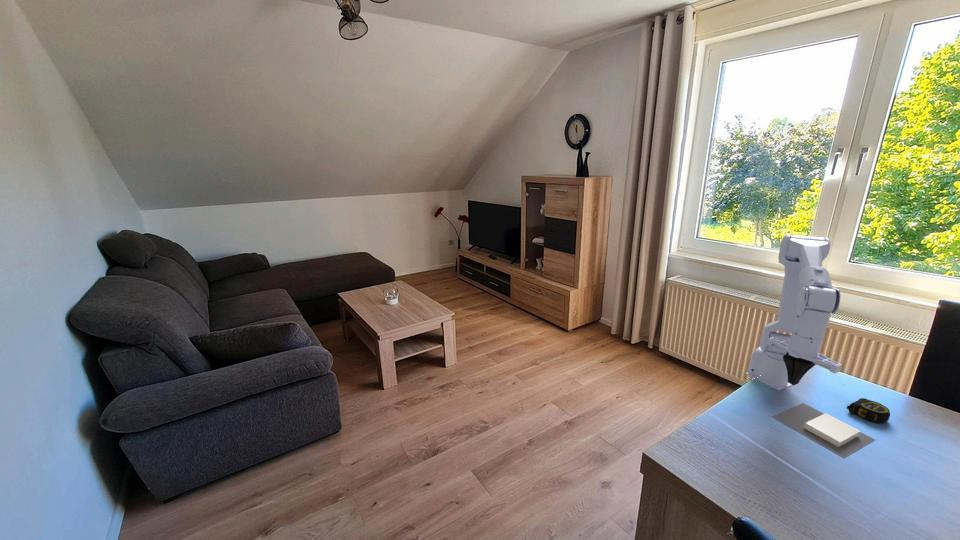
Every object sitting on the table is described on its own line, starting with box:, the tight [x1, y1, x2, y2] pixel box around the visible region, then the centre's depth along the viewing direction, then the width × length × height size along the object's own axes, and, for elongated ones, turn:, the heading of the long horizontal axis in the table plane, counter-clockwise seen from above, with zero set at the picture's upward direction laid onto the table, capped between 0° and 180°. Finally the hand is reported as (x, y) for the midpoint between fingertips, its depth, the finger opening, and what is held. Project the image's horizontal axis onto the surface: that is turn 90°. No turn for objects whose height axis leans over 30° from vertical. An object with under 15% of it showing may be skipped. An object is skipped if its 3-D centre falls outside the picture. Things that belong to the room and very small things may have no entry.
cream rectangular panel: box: [804, 412, 862, 447], centre depth 91 cm, size 2×9×7 cm
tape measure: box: [846, 397, 891, 424], centre depth 97 cm, size 7×7×4 cm
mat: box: [771, 402, 876, 459], centre depth 93 cm, size 15×14×1 cm
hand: (792, 382), depth 94 cm, fingers closed
